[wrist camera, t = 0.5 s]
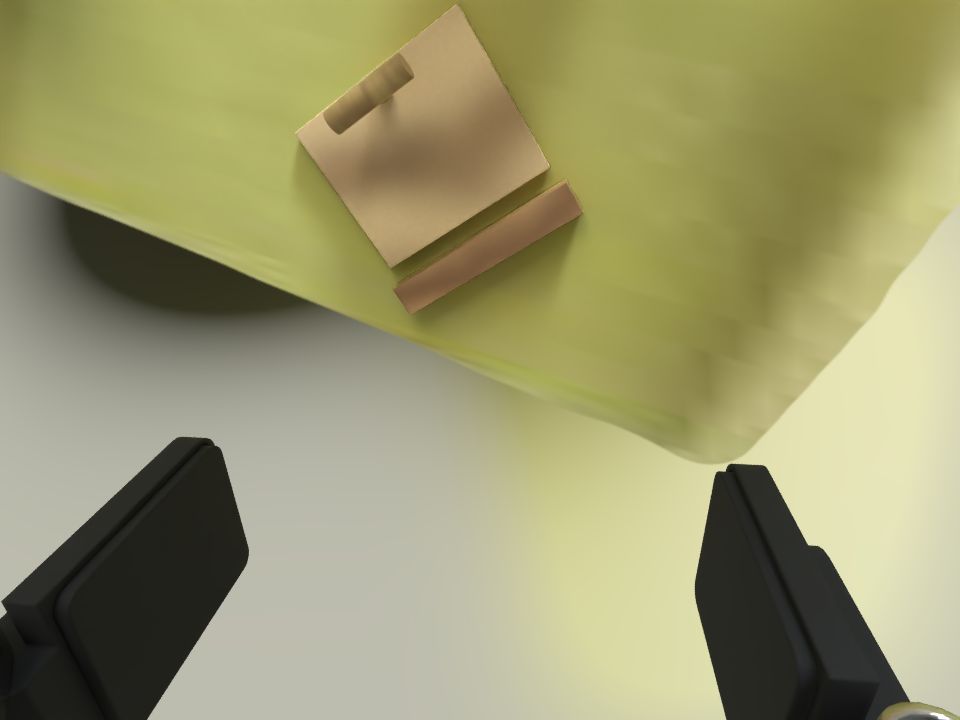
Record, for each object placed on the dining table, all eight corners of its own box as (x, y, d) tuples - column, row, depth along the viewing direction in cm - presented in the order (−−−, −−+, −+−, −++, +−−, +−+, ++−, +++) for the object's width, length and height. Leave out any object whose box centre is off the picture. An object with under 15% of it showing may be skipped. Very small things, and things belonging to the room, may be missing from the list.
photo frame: (298, 132, 41) (265, 139, 36) (459, 4, 36) (444, -6, 32) (393, 265, 44) (374, 287, 40) (550, 165, 40) (549, 178, 35)
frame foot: (398, 282, 45) (392, 289, 44) (566, 178, 40) (566, 182, 38) (416, 306, 46) (410, 315, 44) (582, 207, 41) (583, 213, 39)
